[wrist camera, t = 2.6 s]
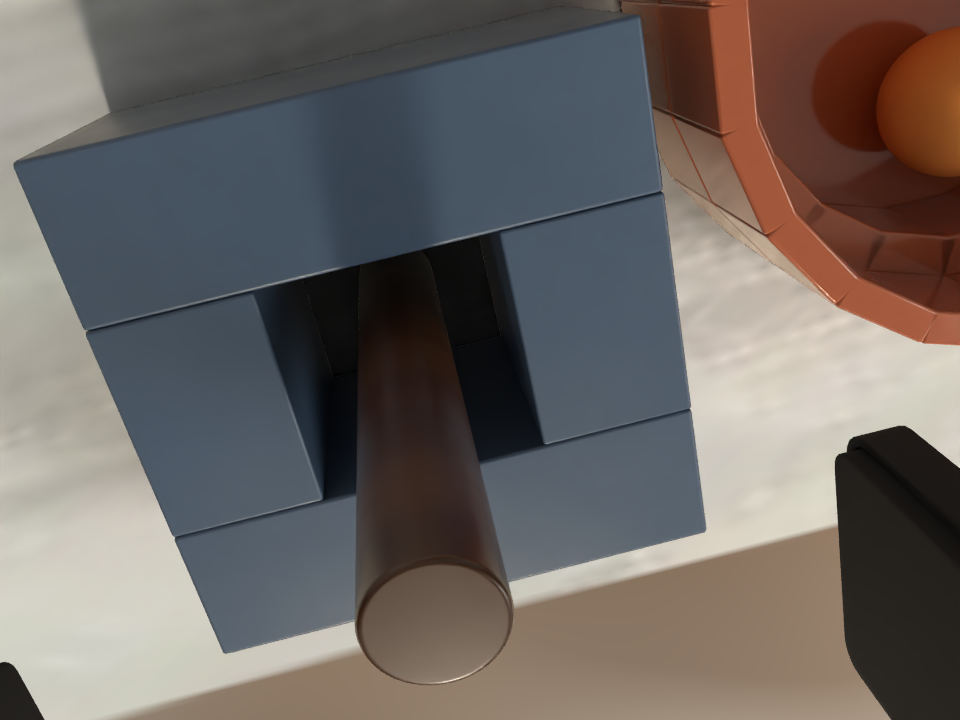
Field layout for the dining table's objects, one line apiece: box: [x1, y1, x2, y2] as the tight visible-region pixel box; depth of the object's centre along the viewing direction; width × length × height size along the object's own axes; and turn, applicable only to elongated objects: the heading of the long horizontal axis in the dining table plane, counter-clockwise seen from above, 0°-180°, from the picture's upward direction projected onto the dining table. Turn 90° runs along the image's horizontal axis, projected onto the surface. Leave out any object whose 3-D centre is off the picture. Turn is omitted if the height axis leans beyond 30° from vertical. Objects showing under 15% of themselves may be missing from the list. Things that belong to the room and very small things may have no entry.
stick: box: [355, 250, 514, 685], centre depth 16 cm, size 2×2×13 cm
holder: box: [13, 6, 706, 654], centre depth 19 cm, size 10×10×6 cm
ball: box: [876, 26, 960, 177], centre depth 19 cm, size 3×3×3 cm
